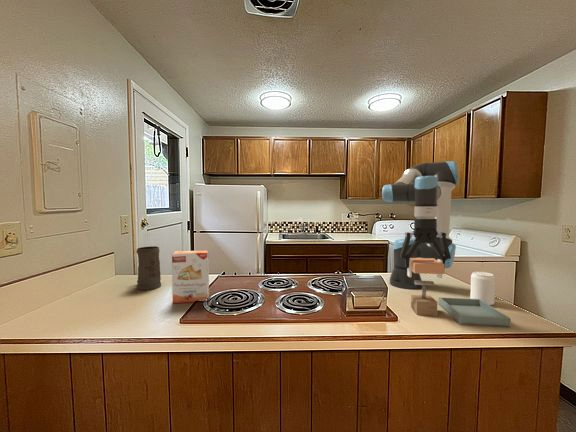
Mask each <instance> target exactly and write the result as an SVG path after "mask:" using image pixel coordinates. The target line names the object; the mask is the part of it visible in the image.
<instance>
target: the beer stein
mask: <svg viewBox="0 0 576 432" xmlns="http://www.w3.org/2000/svg"><path fill="white" fill-rule="evenodd" d="M136 254H137V258H138V259H137V260H138V261H137V263H138V266H137V280H136V289H137V290H139V289H140V290H139V291H149V290H150V289H151V290H155V289H158V288H160V287H161V286H162V283H161V279H162V278H161V265H160V264H161V262H160V247H159V246H156V245H155V246H142V247H138V248H137V249H136Z"/></svg>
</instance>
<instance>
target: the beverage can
mask: <svg viewBox="0 0 576 432" xmlns="http://www.w3.org/2000/svg"><path fill="white" fill-rule="evenodd" d="M495 293H496V276H494V274H493V273H491V272H490V273H489V272H486V271H473V272H472V273H471V275H470V295H469V296H470V297H469V299H481V300H482V301H484V302H485V303H487V304H489V305H490V306H492V305H494V304H495V298H496V297H495V296H496V295H495Z"/></svg>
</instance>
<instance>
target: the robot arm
mask: <svg viewBox="0 0 576 432" xmlns="http://www.w3.org/2000/svg"><path fill="white" fill-rule="evenodd" d="M459 183H460V178H459V172H458V164H457V162H456V161H454V160H449V161H448V160H445V161H435V162H424V163H419V164H415V165H413V166H411V167H409V168H408V169H406V170H405V171H404V172H403V173H402V176H401V177H399V179H398V180H396V182H394V183H392V184H385V185H383V186H382V189H381V190H382V191H381V198H382V200H383V201H384V202H385V203H388V202H389V203H408V202H409V203H414V214H413V215H414V217H415V218H414V219H413V222H414V223H413V225H414V227H413V231H406V232H404V236H405V237H404V238H399V239H398V238H397V239H396V240H395V241H394V242H393V248H392V250H393V262H392V263H393V268H392V270H391V274H390V277H389V284H390V285H391V286H393V287H396V288H400V289H409V290H411V289H412V290H417V289H422V285H415V284H414V280H416V281H423V280H422V277H421V274H420V273H414V272H412V260H411V259H410V258H434V259H436V260H437V261H439V262H441V263H443V264H445V269H450V268H451V267H452V266H453V264H454V260H455V257H456V256H455V255H456V249H457V248H456V247H457V246H456V244H455V243H453V239H452V238H450V220H451V209H452V206H451V205H452V191H453V190H454V189H455V188H456V185H459ZM436 277H438V278H439V279H443V274H436Z"/></svg>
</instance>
